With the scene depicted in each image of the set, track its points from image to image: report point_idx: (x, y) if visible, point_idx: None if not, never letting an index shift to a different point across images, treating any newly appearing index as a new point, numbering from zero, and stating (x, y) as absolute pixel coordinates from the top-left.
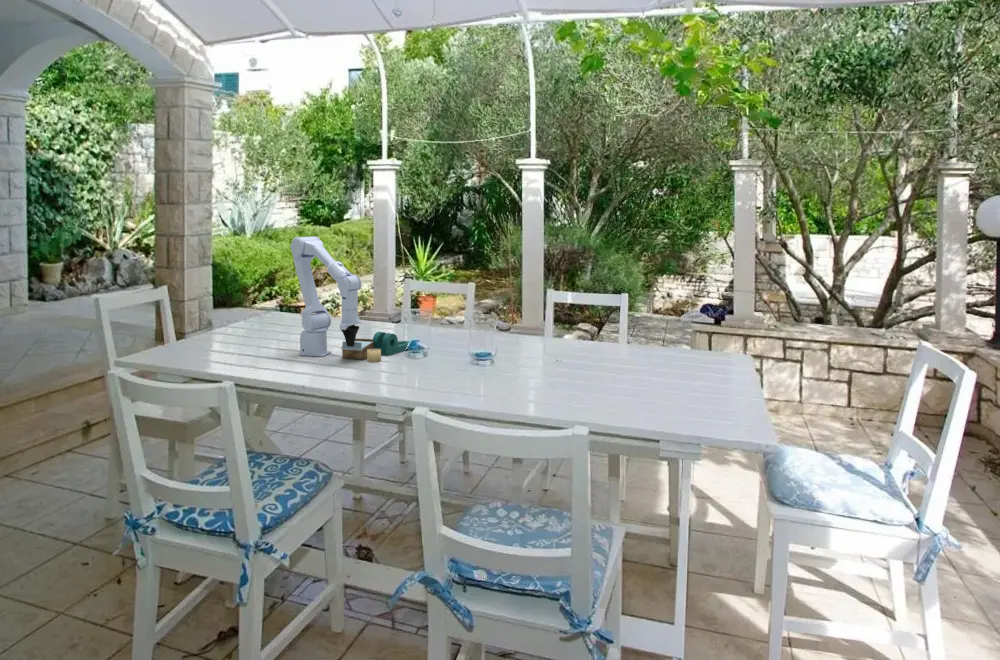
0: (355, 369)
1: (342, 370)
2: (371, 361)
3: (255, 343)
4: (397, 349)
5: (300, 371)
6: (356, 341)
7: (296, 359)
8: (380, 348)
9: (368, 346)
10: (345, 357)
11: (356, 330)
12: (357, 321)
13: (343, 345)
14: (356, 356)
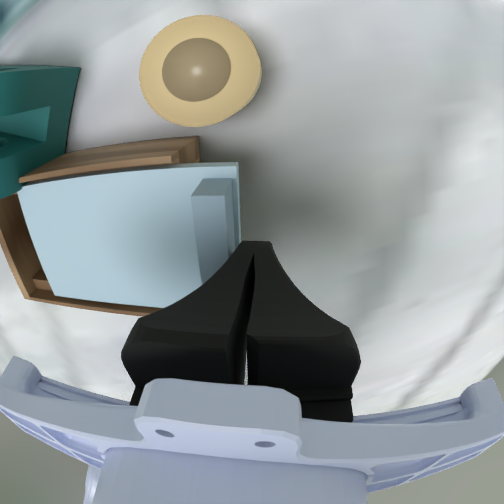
0: (459, 127)
1: (475, 187)
2: (261, 73)
3: None
4: (6, 66)
5: (462, 323)
6: (56, 279)
7: None
8: (41, 123)
9: (112, 158)
10: None
11: (233, 320)
12: (222, 460)
13: None
14: None
